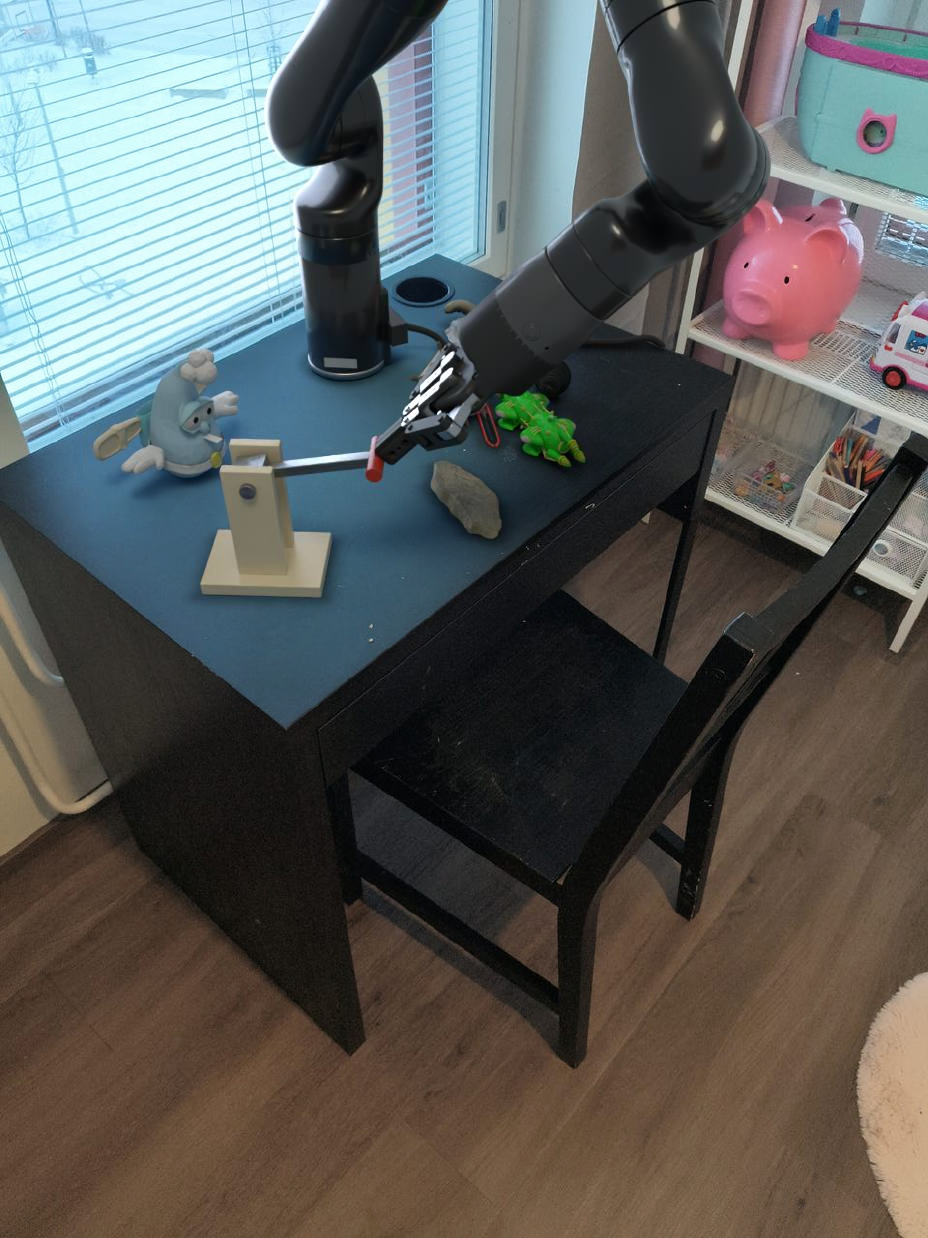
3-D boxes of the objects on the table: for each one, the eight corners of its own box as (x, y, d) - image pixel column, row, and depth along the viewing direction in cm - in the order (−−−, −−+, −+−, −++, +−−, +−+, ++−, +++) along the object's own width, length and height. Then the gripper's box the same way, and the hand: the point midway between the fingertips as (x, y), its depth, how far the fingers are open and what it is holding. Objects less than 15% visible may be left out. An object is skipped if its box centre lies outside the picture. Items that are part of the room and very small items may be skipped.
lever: (390, 452, 88) (384, 429, 86) (385, 486, 84) (379, 463, 83) (247, 468, 90) (239, 446, 88) (236, 502, 86) (228, 480, 84)
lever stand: (332, 542, 97) (320, 431, 88) (321, 598, 91) (307, 484, 83) (220, 539, 97) (197, 427, 88) (202, 594, 92) (175, 481, 83)
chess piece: (558, 402, 117) (555, 417, 108) (526, 383, 117) (520, 396, 108) (578, 369, 116) (577, 382, 107) (546, 350, 115) (542, 360, 106)
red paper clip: (503, 444, 109) (503, 449, 110) (481, 376, 119) (480, 381, 119) (486, 445, 109) (486, 450, 109) (465, 377, 119) (464, 382, 119)
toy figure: (180, 528, 98) (148, 396, 88) (101, 496, 102) (61, 365, 92) (282, 445, 109) (264, 318, 99) (207, 419, 113) (182, 294, 102)
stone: (472, 552, 98) (515, 544, 100) (478, 531, 96) (522, 523, 98) (415, 470, 105) (457, 464, 108) (420, 448, 103) (462, 443, 106)
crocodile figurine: (520, 388, 118) (521, 356, 115) (602, 468, 107) (607, 434, 104) (470, 402, 116) (471, 369, 113) (549, 484, 104) (552, 450, 101)
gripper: (568, 398, 73) (409, 527, 82) (560, 314, 83) (419, 438, 92) (498, 331, 70) (339, 473, 78) (498, 251, 79) (357, 386, 88)
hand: (382, 454), depth 85 cm, fingers closed
